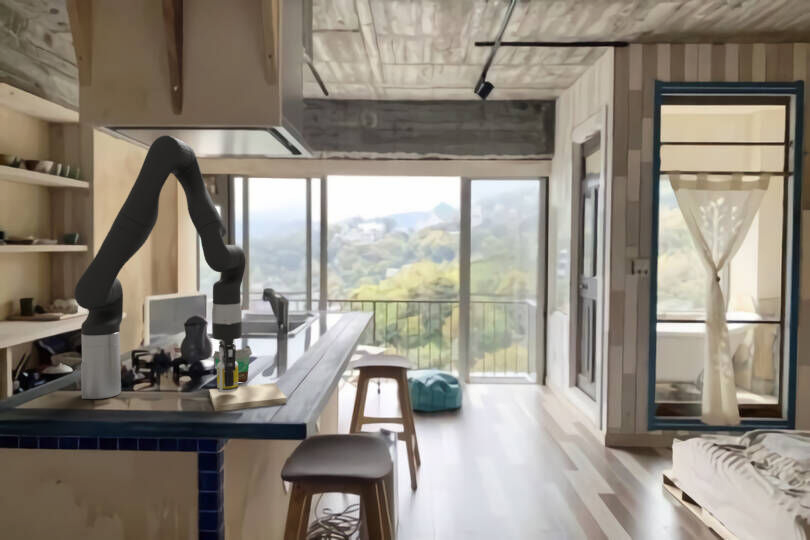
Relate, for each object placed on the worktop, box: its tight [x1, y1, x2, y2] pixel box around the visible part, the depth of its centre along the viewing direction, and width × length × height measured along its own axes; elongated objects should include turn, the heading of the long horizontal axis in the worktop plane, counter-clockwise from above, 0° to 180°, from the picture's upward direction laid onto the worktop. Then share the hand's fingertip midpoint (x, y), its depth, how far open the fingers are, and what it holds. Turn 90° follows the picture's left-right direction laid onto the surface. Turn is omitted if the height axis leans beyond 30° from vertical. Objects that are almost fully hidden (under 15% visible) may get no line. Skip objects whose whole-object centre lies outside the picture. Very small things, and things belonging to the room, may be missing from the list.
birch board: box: [208, 382, 288, 412], centre depth 151 cm, size 18×16×2 cm
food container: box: [213, 344, 253, 383], centre depth 168 cm, size 12×6×10 cm, turn 143°
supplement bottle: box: [216, 354, 239, 393], centre depth 149 cm, size 5×5×10 cm
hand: (227, 382), depth 149 cm, fingers closed on supplement bottle, 5 cm apart
